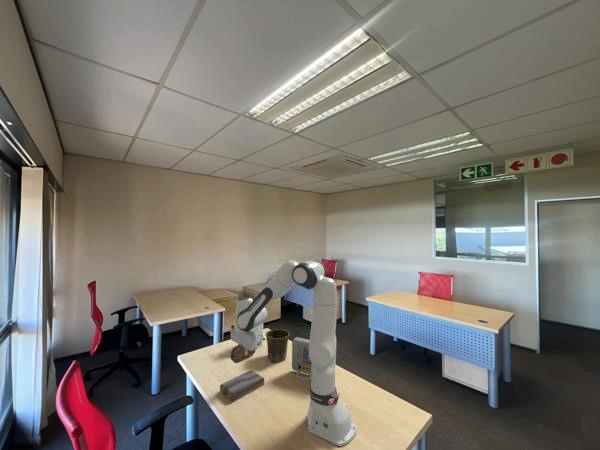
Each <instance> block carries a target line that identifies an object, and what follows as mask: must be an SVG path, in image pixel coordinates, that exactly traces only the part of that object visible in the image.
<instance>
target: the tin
mask: <svg viewBox="0 0 600 450" xmlns="http://www.w3.org/2000/svg"><path fill="white" fill-rule="evenodd" d="M244 348H245V347H243V346H241V345H238V344H237V345H235V346H234V347H233V348H232V350H231V351H230V355H229V357H230V360H231V361H232V362H233V363H234V364H239V363H242V362H244V361H247V360H249V359H250V358H252V357H253V356H254V354H255V353H256V350H254V351H250V350H248V354H247V355H244V354H243V351H245V349H244Z"/></svg>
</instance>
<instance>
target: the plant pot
mask: <svg viewBox="0 0 600 450" xmlns="http://www.w3.org/2000/svg"><path fill="white" fill-rule="evenodd" d="M289 338H290V332H289V331H288V330H286V329H281V328H280V329H278V328H275V329H271V330H268V331H266V333H265V339H266V347H267V359H268V360H269V361H270V362H273V363H277V362H279V363H280V362H283V361H285V360H286V359H287V351H288V343H289V342H288V341H289Z"/></svg>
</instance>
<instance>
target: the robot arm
mask: <svg viewBox="0 0 600 450" xmlns="http://www.w3.org/2000/svg"><path fill="white" fill-rule="evenodd" d="M326 275H327V268H326V266H325V264H324V263H322V262H321V261H320V260H308V261H307V260H306V261H303V262H300V263H298V261H296V260H294V259H293V260H292V259H289V260H286V261H285V262H284V263H283V264H282V265H281V266H280V267H279V268H278V269H277V271H276V272H274V274H273V276H272V277H271V278H270V280H269V281H268V282H267V284H265V286H264V288H263V289H262V290H261V291H260V292H259V293H258V294H257V295H256V296H255V298H254V299H253V298H252V297H250V296H246V297H241V298H239V299H237V301H236V306H235V317H236V319H235V323H231V324H230V340H231V341H232V342H234V343H236V344H237V345H241V346H243V347H245V348H244V349H245V351H243V354H244V355H247V354H248V350H250V351H254V350H255V351H256V350H257V349H258V348H257V337H256V335H255V333H254V332H253V331H252V329H253V328H254V327H256V326H258V325H260V324H261V323H263V324H264V323H265V322H266V321H267V320H268V317H269V313H268V310H267V305H269V304H270V303H272V302H274V301H276V300H278V299H280V298H282V297H284V296H285V295H286V294H288V293H289V292H290V291H291V289H292V288H294V286H295V285H296V286H299V287H302V288H304V289H306V290H307V291H308V290H312V295H313V296H312V315H311V316H312V317H311V326H310V335H309V340H310V342H309V358H310V361H311V362H312V365H311V381H310V385H309V397H310V398H309V405H308V412H307V414H306V423H307V431H308V432H309V433H312V434H314V435H315V436H317V437H319V438H322V439H323V440H326V441H327V442H329V443H331V444H334V445H335V446H338V447H342V446H346V445H347V444H349V443H350V442H351V441H352V439H354V438H355V435H356V434H357V432H358V427H357V424H356V423H355V422H354V421H352V417H351V416H352V415H351V413H350V411H349V410H348V408H347V407H346V405H345V404H344V403H343V402H342V401H341V399H340V396H341V392H339V393H338V391H337V388H336V362H337V361H336V359H337V335H336V328H337V316H338V315H337V312H338V291H337V284H336V281H334V279H332V278H331V277H327V276H326Z"/></svg>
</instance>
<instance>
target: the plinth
mask: <svg viewBox="0 0 600 450" xmlns="http://www.w3.org/2000/svg"><path fill="white" fill-rule="evenodd" d="M264 385H265V377H264V376H261V375H260V374H258V373H257V372H255V371H254V370H252V369H250V370H247V371H246V372H244V373H242V374H240V375H237V376H236V377H233V378H232V379H229V380H227V381H225V382H223V383H221V384H219V392H220V393H221V394H222V395H223V396H224V397H225V398H226V399H228V400H229V402H231V403H235V402H237V401H238V400H239V399H242V398H244V397H245V396H247V395H249V394H251V393H253V392H255V391H256V390H257V389H259V388H261V387H263V386H264Z"/></svg>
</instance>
